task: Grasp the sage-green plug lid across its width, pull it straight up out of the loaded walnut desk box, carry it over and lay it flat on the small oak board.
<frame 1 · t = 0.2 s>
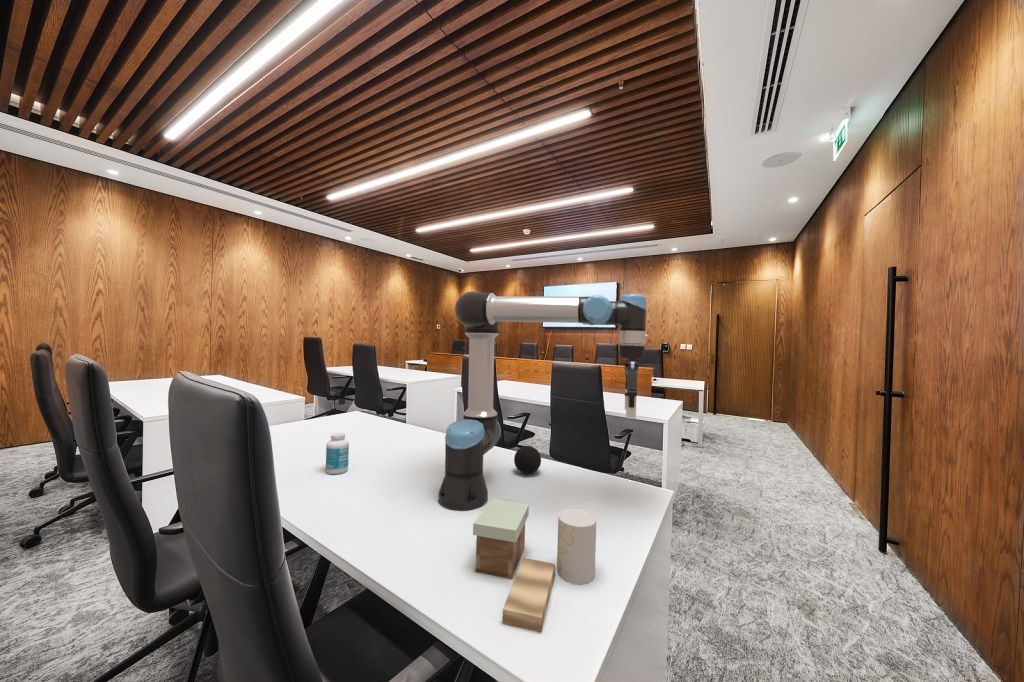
hand: (629, 413, 115), 28 cm above the table, fingers open, 13 cm apart
box: (501, 559, 85), on the table
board: (531, 596, 73), on the table
cup: (575, 572, 81), on the table
pill bottle: (337, 472, 135), on the table
lid: (502, 527, 85), point 7 cm above the table, touching box
black ball: (527, 473, 139), on the table
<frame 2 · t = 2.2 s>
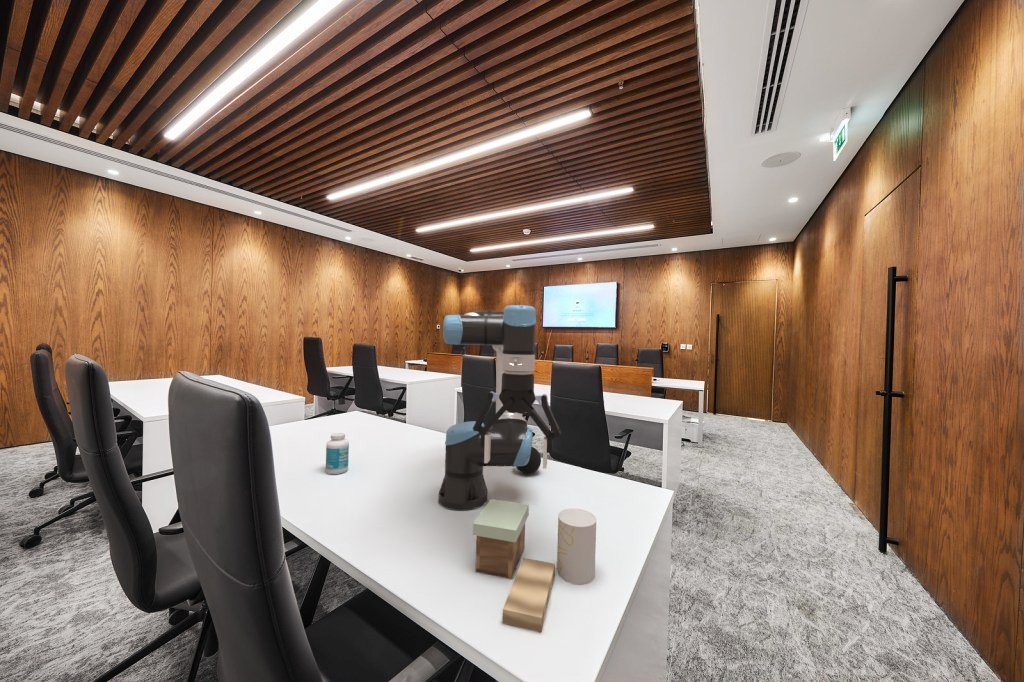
hand: (515, 464, 86), 21 cm above the table, fingers open, 13 cm apart
nothing on the table moved.
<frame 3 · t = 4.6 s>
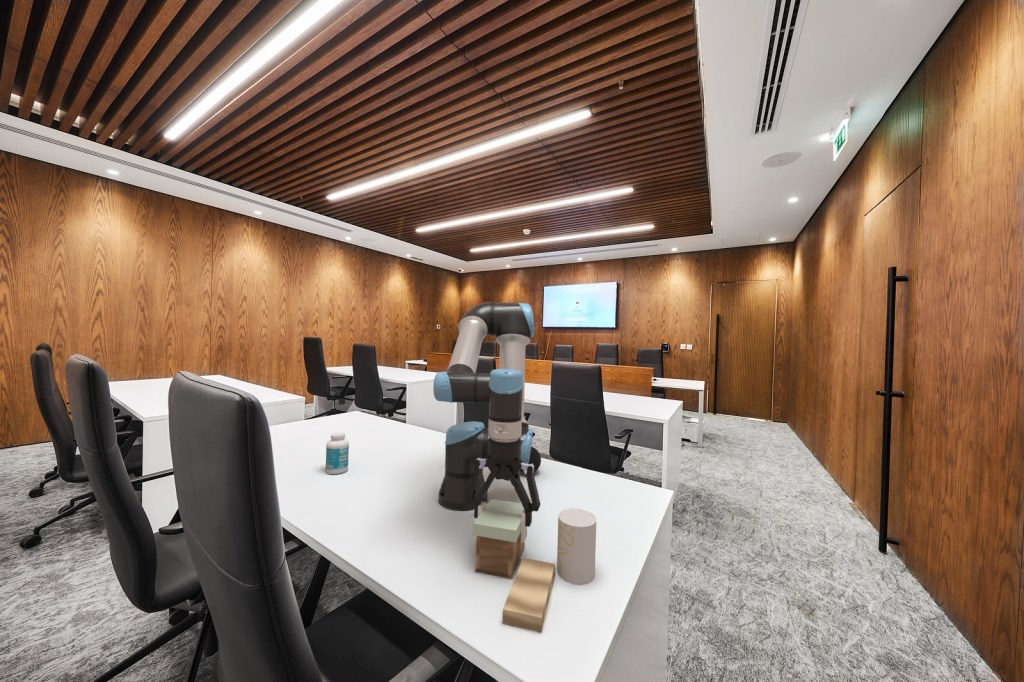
hand: (502, 535, 85), 5 cm above the table, fingers closed on lid, 9 cm apart
lid: (502, 527, 85), point 7 cm above the table, touching box, gripper
everything else where it was.
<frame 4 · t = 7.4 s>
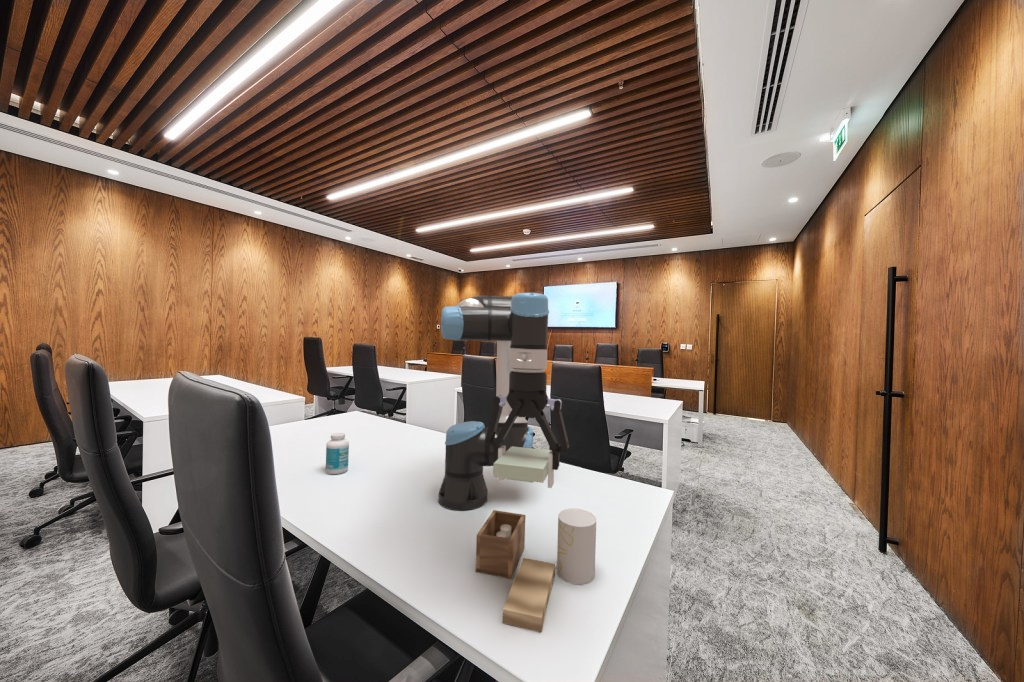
hand: (525, 482, 75), 22 cm above the table, fingers closed on lid, 9 cm apart
lid: (525, 473, 75), point 23 cm above the table, touching gripper
everything else where it was.
when the fingers open (2 cm above the table, at t = 10.6 s): lid drops 2 cm, resting on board.
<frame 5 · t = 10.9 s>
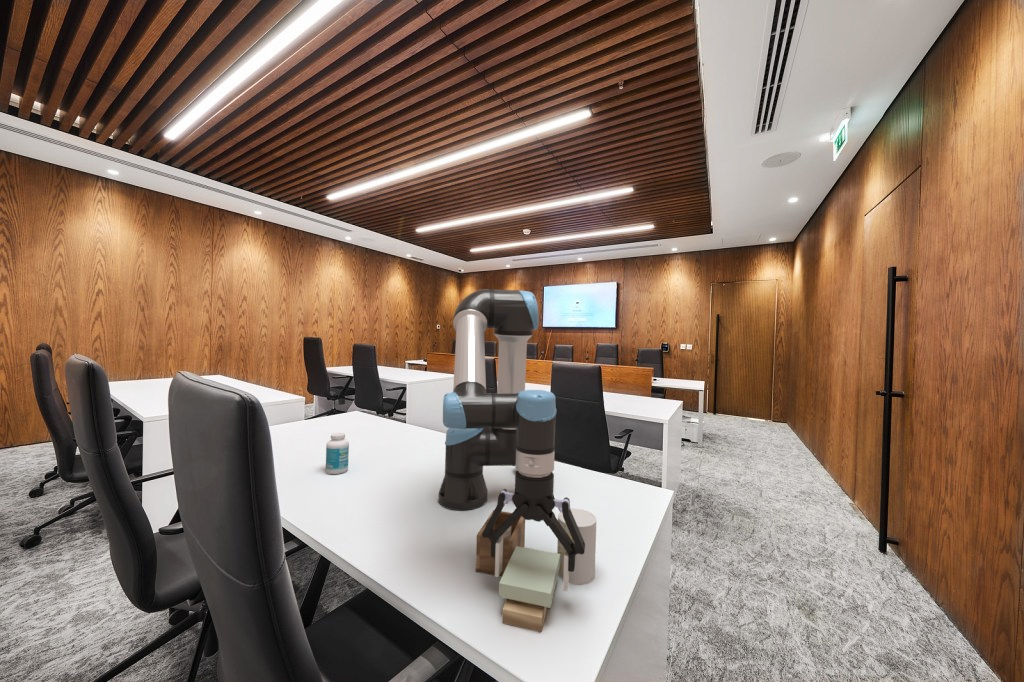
hand: (531, 579, 73), 3 cm above the table, fingers open, 13 cm apart
lid: (531, 584, 73), point 2 cm above the table, touching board
everything else where it was.
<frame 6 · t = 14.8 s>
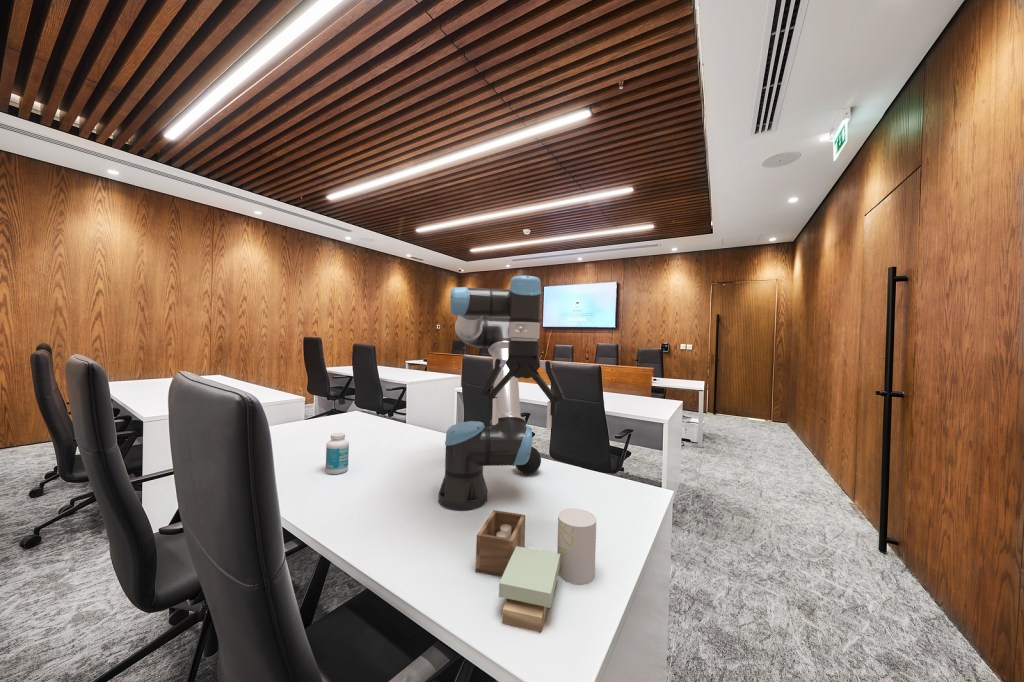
hand: (521, 426, 92), 29 cm above the table, fingers open, 13 cm apart
nothing on the table moved.
at the end: lid inside the target area on the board (0.0 cm from its centre), point 2.5 cm above the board's base; lid tilted 0°; lid touching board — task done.
